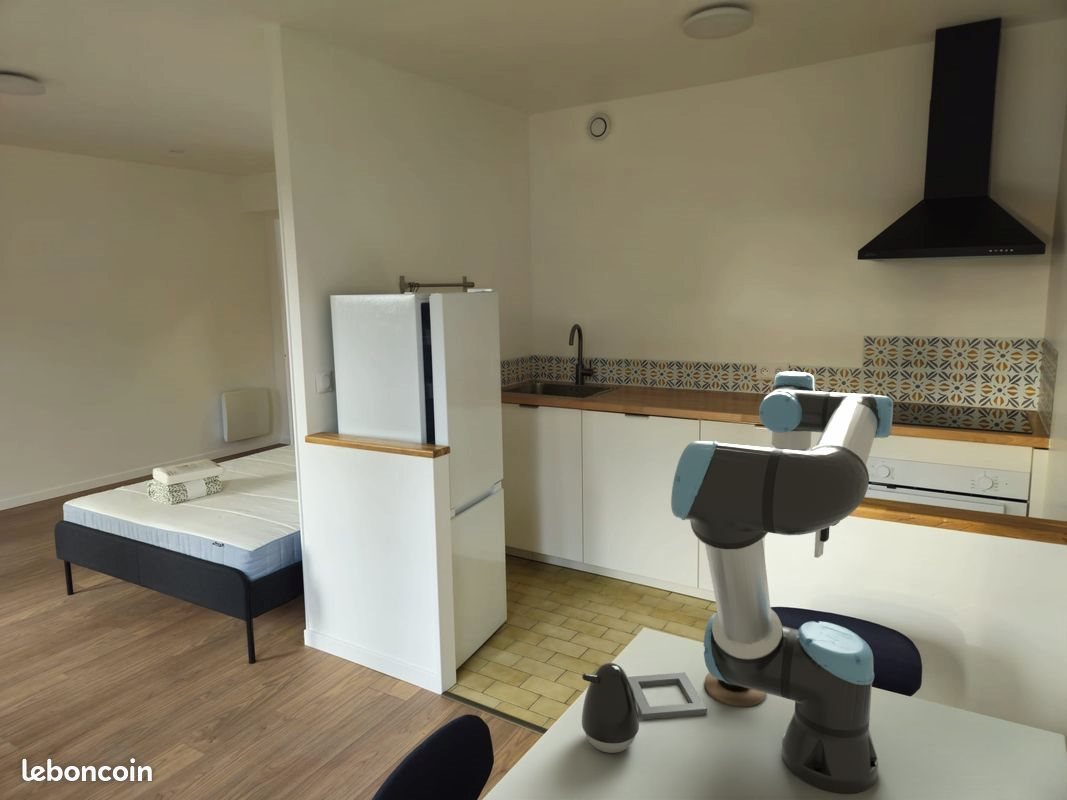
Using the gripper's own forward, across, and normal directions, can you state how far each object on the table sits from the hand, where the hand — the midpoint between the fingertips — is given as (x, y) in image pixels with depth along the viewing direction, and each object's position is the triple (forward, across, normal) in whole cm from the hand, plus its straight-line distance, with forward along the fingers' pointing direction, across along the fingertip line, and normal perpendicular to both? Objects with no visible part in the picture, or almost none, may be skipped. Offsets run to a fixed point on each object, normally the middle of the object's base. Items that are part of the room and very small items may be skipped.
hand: (785, 547), depth 145 cm
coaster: (+27, +3, +14) cm, 31 cm away
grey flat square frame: (+27, +12, +27) cm, 40 cm away
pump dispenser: (+27, +12, +45) cm, 54 cm away
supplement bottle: (+26, +3, +14) cm, 30 cm away
